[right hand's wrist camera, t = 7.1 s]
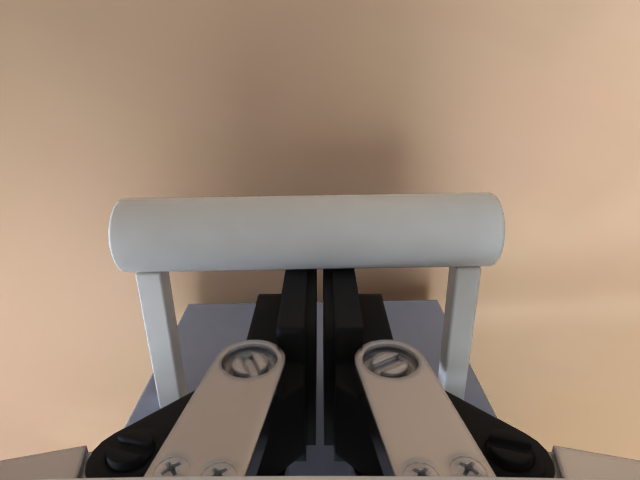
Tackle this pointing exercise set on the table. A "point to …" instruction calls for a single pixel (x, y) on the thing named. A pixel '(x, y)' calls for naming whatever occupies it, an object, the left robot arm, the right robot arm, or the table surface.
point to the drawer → (305, 253)
